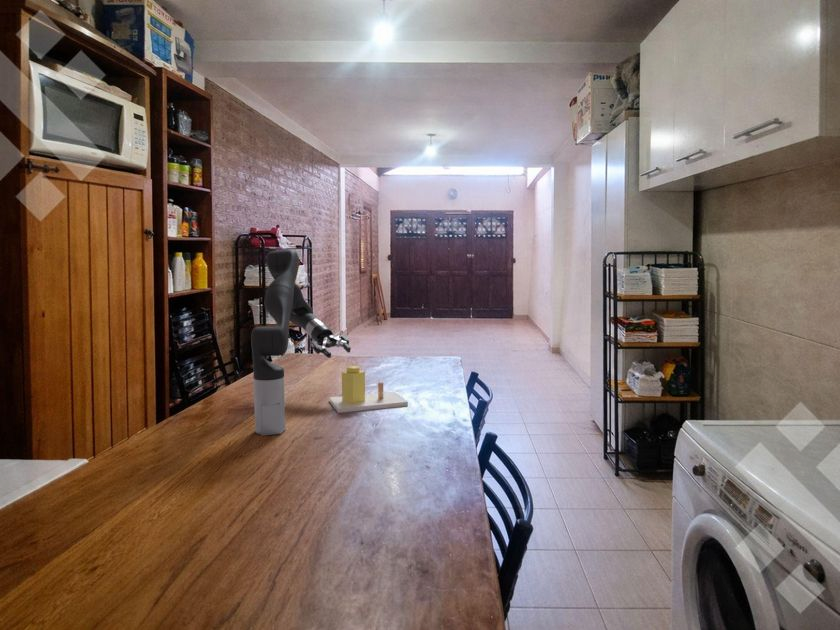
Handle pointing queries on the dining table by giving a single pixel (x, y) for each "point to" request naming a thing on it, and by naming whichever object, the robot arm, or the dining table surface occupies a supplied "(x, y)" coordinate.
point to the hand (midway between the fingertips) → (340, 353)
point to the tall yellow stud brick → (353, 385)
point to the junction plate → (370, 401)
